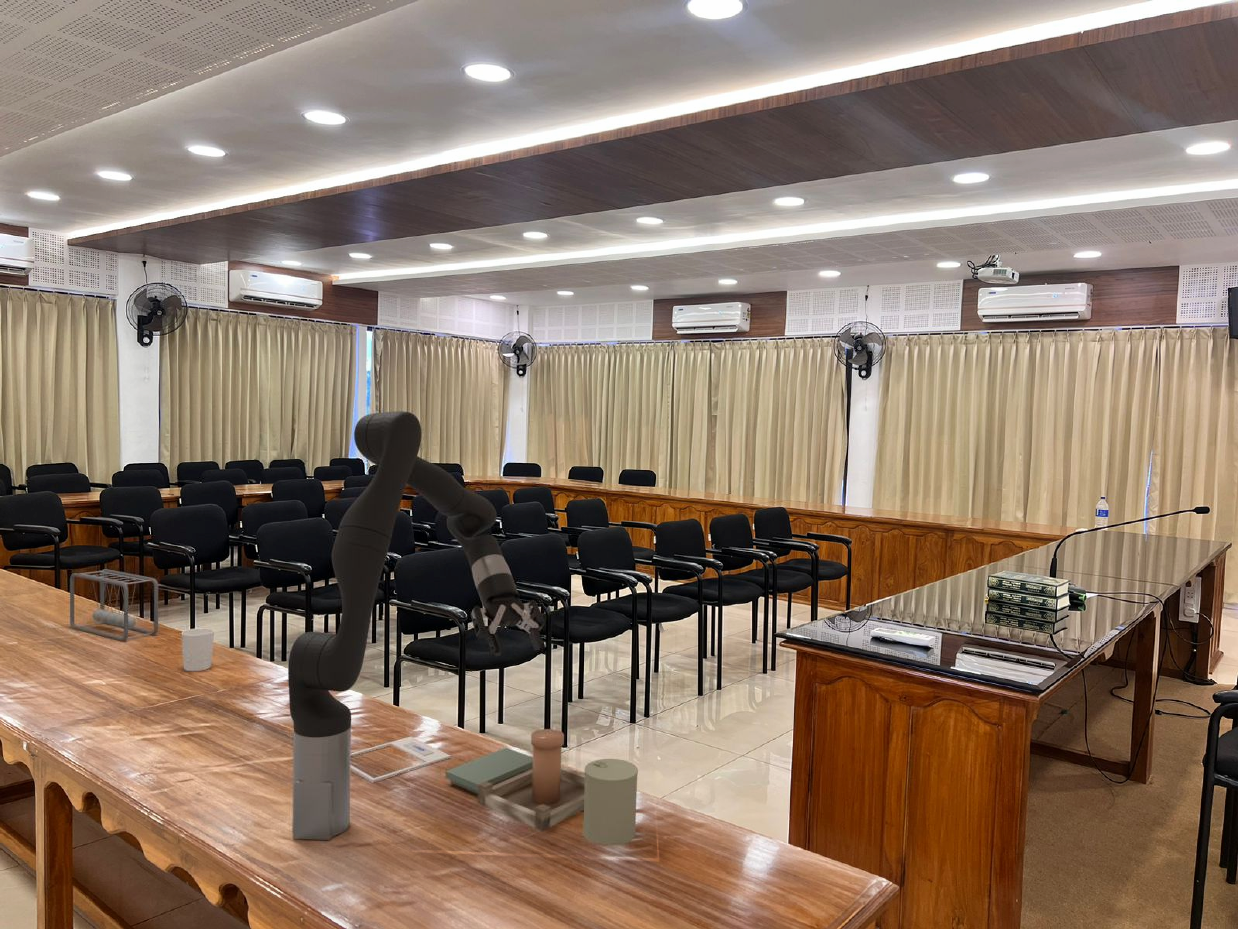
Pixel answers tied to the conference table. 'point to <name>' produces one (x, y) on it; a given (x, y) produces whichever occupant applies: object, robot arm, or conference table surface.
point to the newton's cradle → (113, 617)
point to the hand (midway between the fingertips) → (519, 651)
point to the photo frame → (408, 746)
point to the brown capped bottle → (546, 766)
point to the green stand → (490, 769)
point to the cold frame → (518, 803)
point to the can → (610, 801)
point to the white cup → (197, 649)
